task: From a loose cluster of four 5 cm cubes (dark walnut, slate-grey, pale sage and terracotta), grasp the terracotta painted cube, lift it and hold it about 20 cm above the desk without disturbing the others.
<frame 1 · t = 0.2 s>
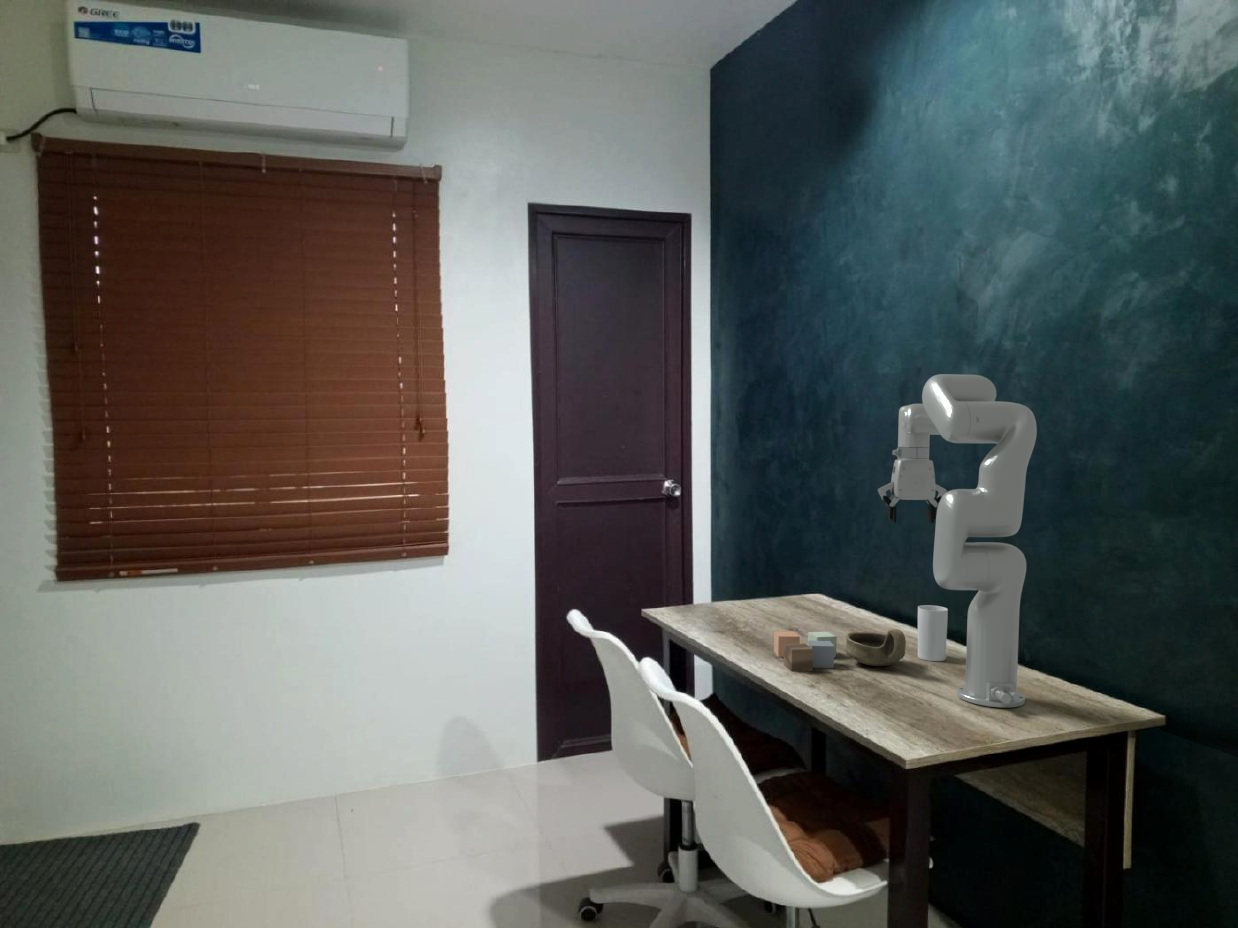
hand: (911, 522, 218), 31 cm above the table, fingers open, 9 cm apart
walnut cube: (798, 668, 196), on the table
sage cube: (821, 654, 208), on the table
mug: (928, 657, 208), on the table
bowl: (878, 667, 198), on the table
terracotta cube: (786, 654, 208), on the table
slate cube: (820, 664, 199), on the table
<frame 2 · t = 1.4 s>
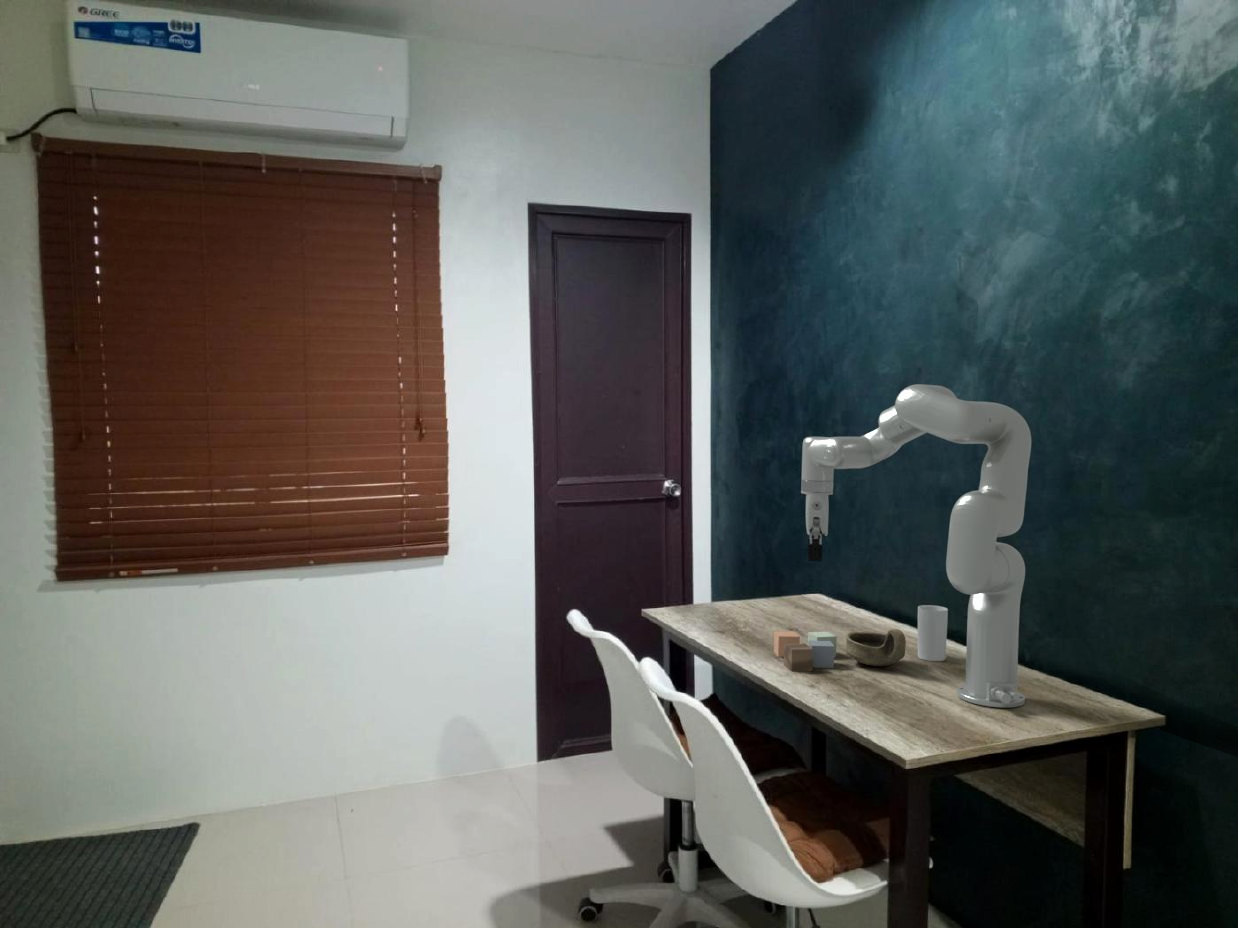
hand: (814, 558, 210), 23 cm above the table, fingers open, 9 cm apart
nothing on the table moved.
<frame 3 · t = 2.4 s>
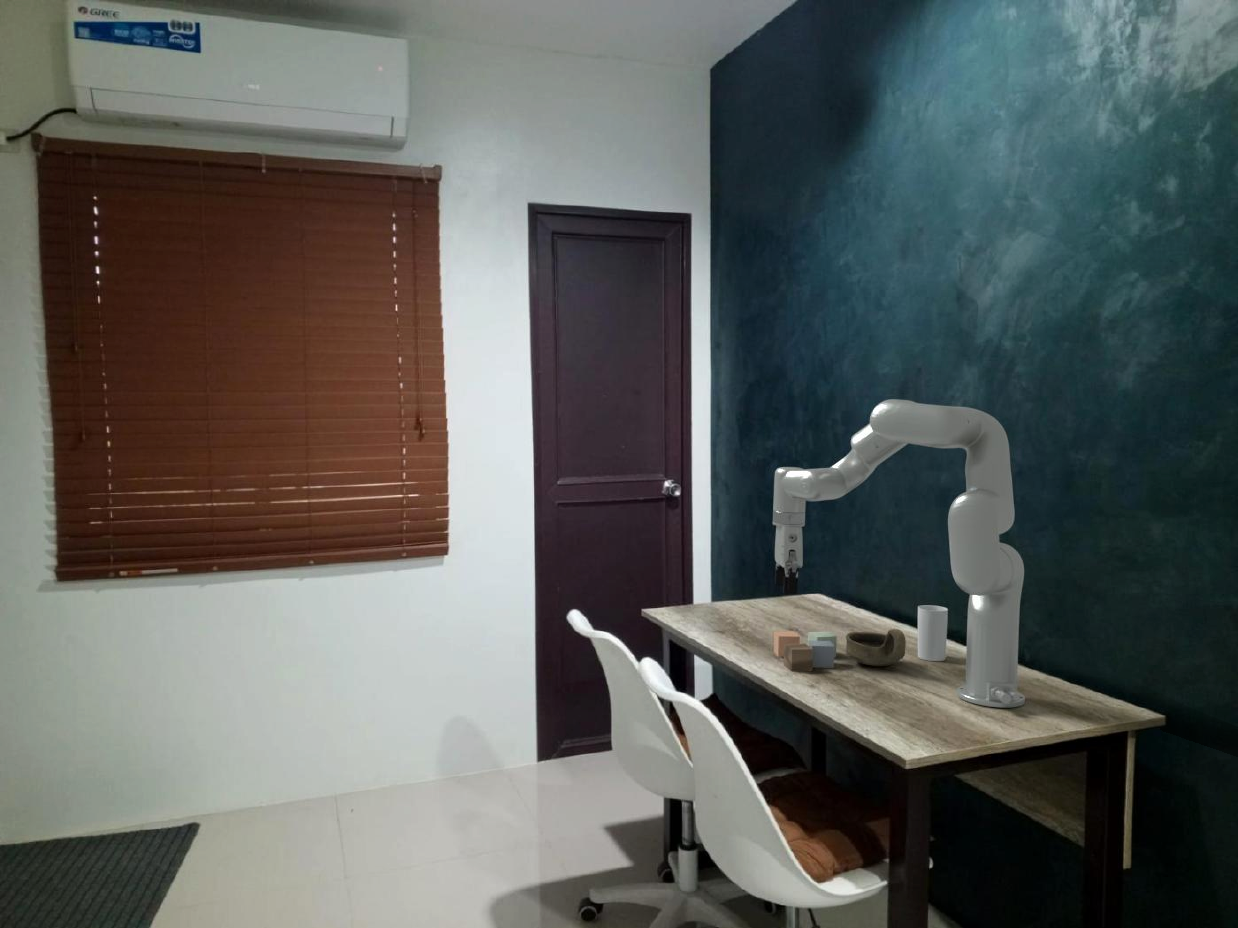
hand: (785, 589, 208), 15 cm above the table, fingers open, 9 cm apart
nothing on the table moved.
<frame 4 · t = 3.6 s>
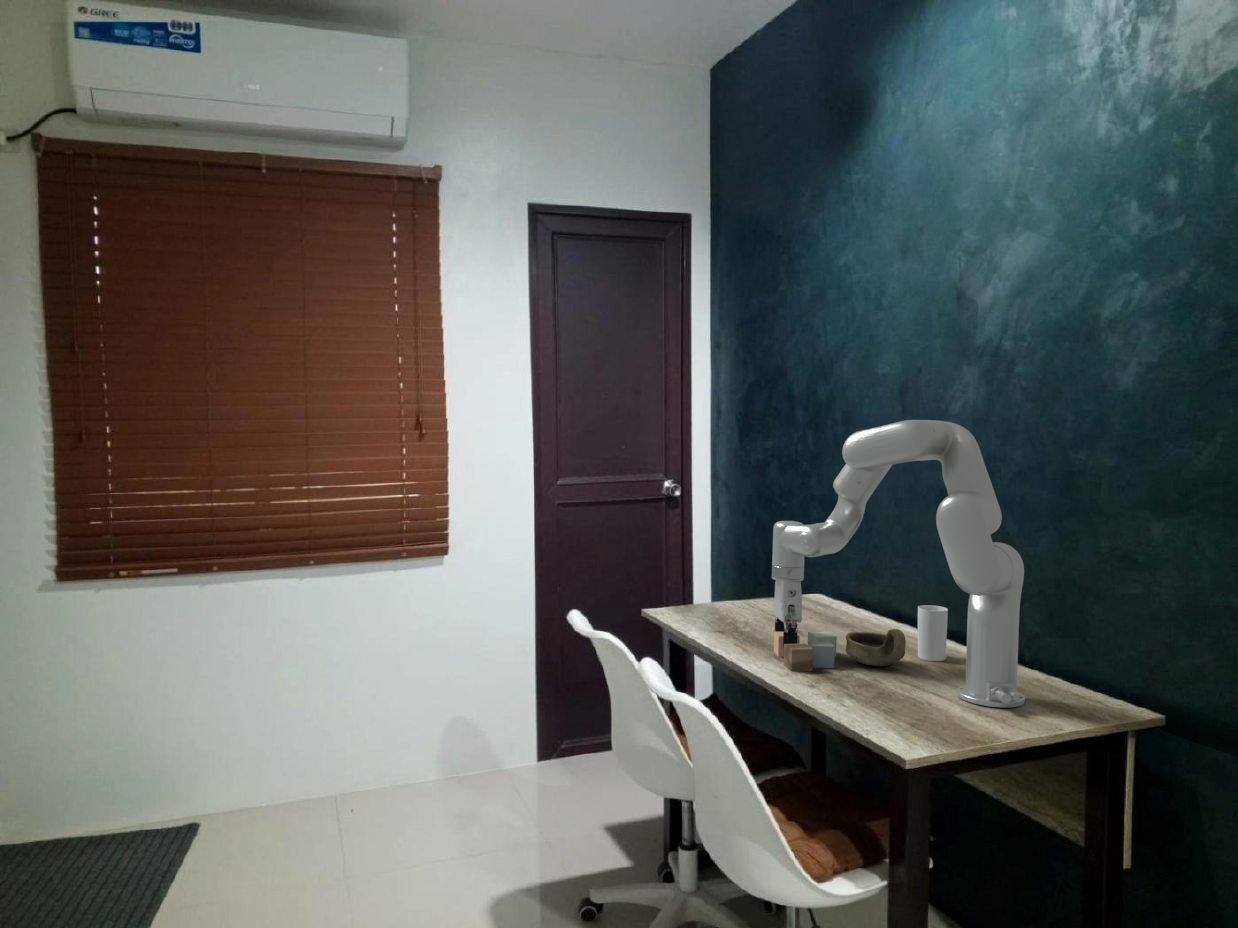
hand: (785, 643, 208), 3 cm above the table, fingers open, 9 cm apart
nothing on the table moved.
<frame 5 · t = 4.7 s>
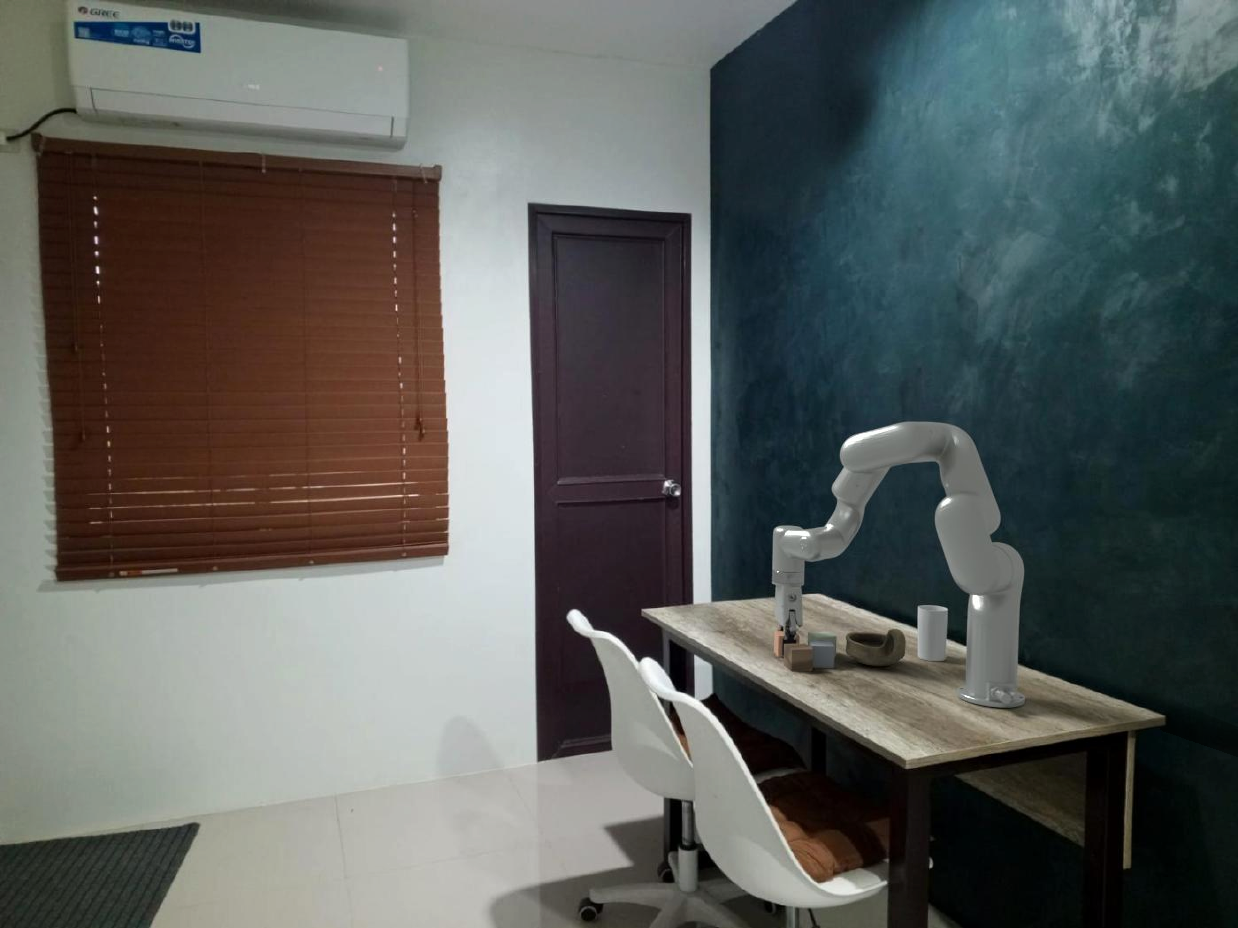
hand: (786, 651, 208), 0 cm above the table, fingers closed on terracotta cube, 5 cm apart
terracotta cube: (786, 654, 208), on the table, touching gripper
everything else where it was.
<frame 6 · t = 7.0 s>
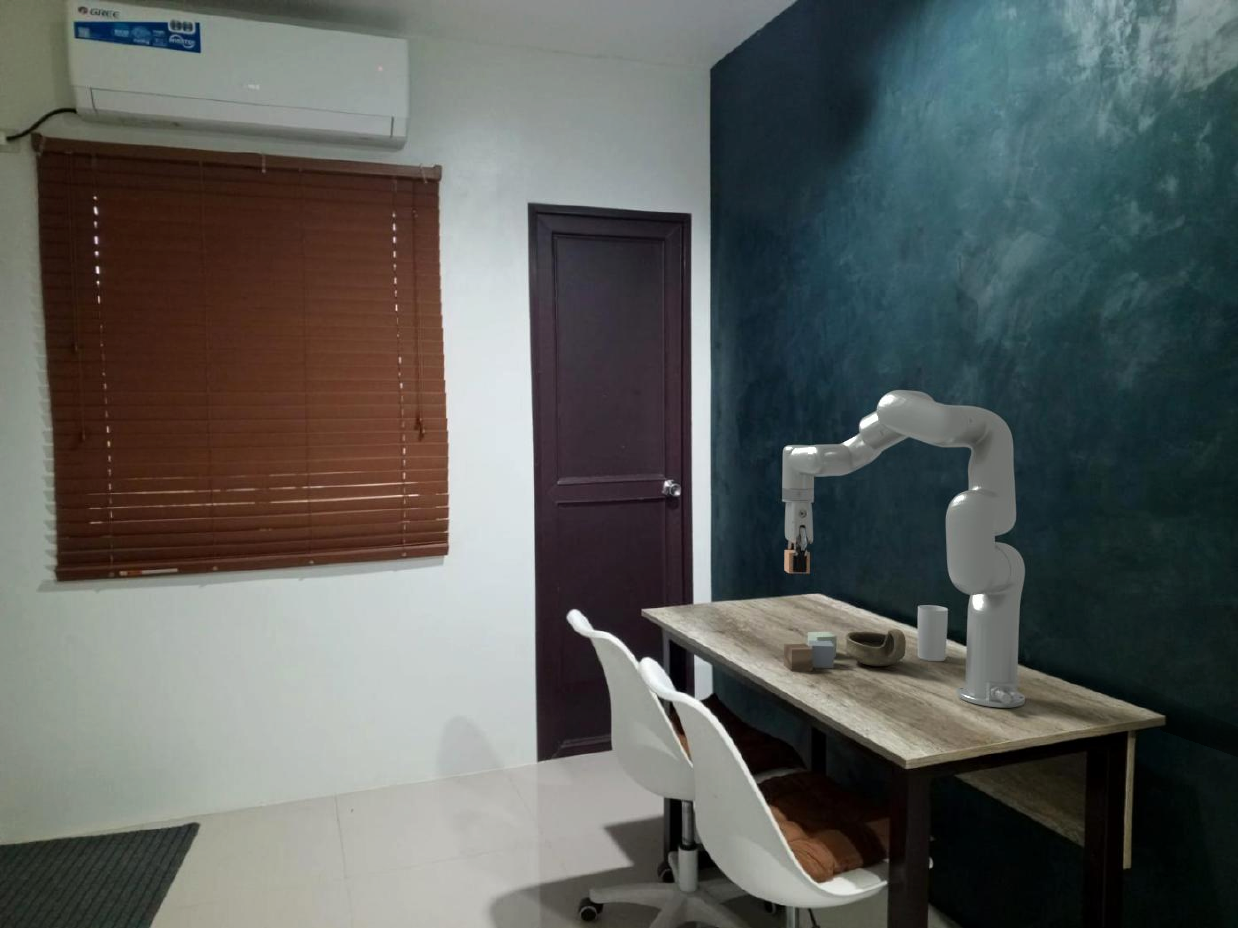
hand: (796, 569, 211), 20 cm above the table, fingers closed on terracotta cube, 5 cm apart
terracotta cube: (796, 571, 211), point 19 cm above the table, touching gripper
everything else where it was.
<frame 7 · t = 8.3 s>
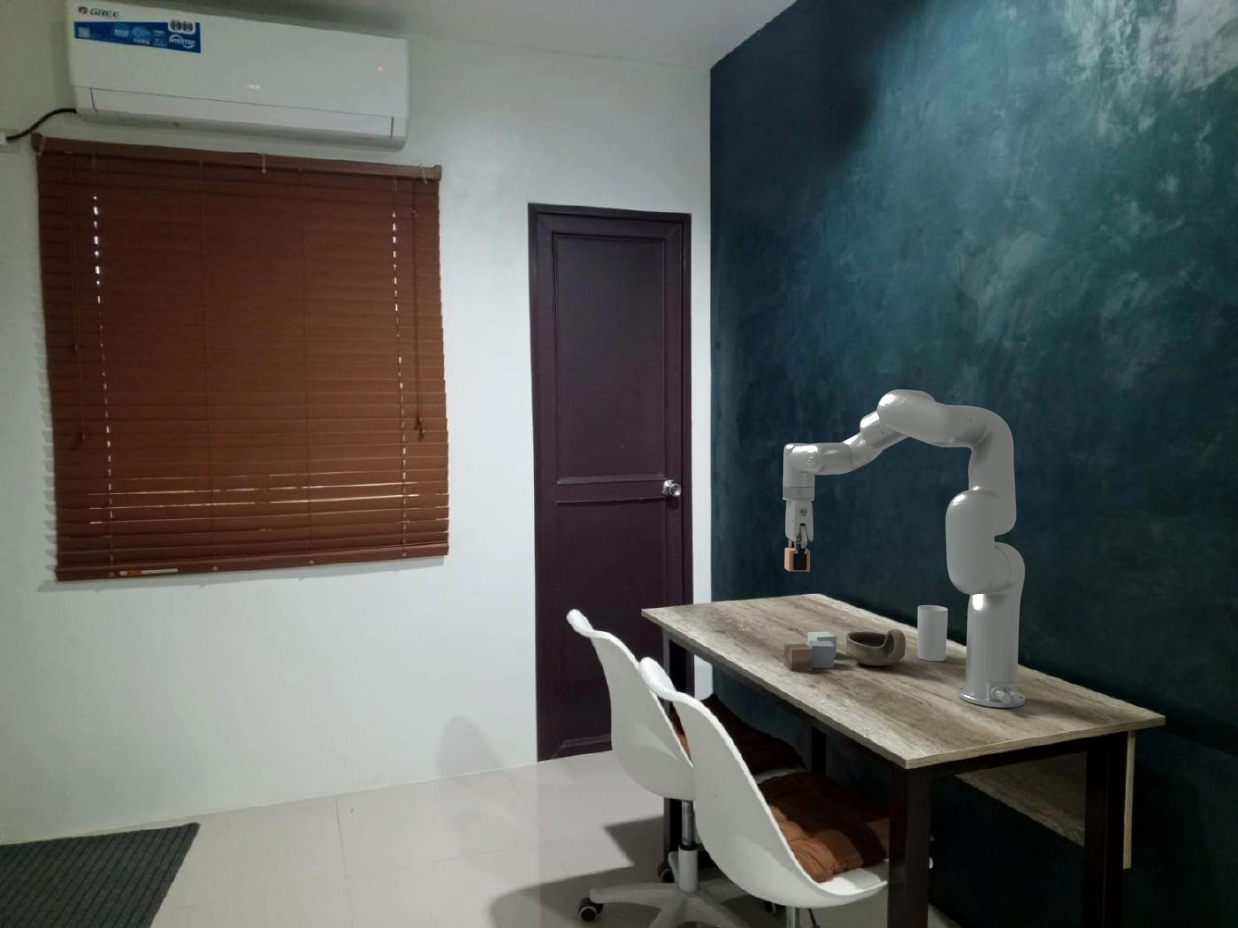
hand: (797, 567, 211), 20 cm above the table, fingers closed on terracotta cube, 5 cm apart
terracotta cube: (796, 569, 211), point 20 cm above the table, touching gripper
everything else where it was.
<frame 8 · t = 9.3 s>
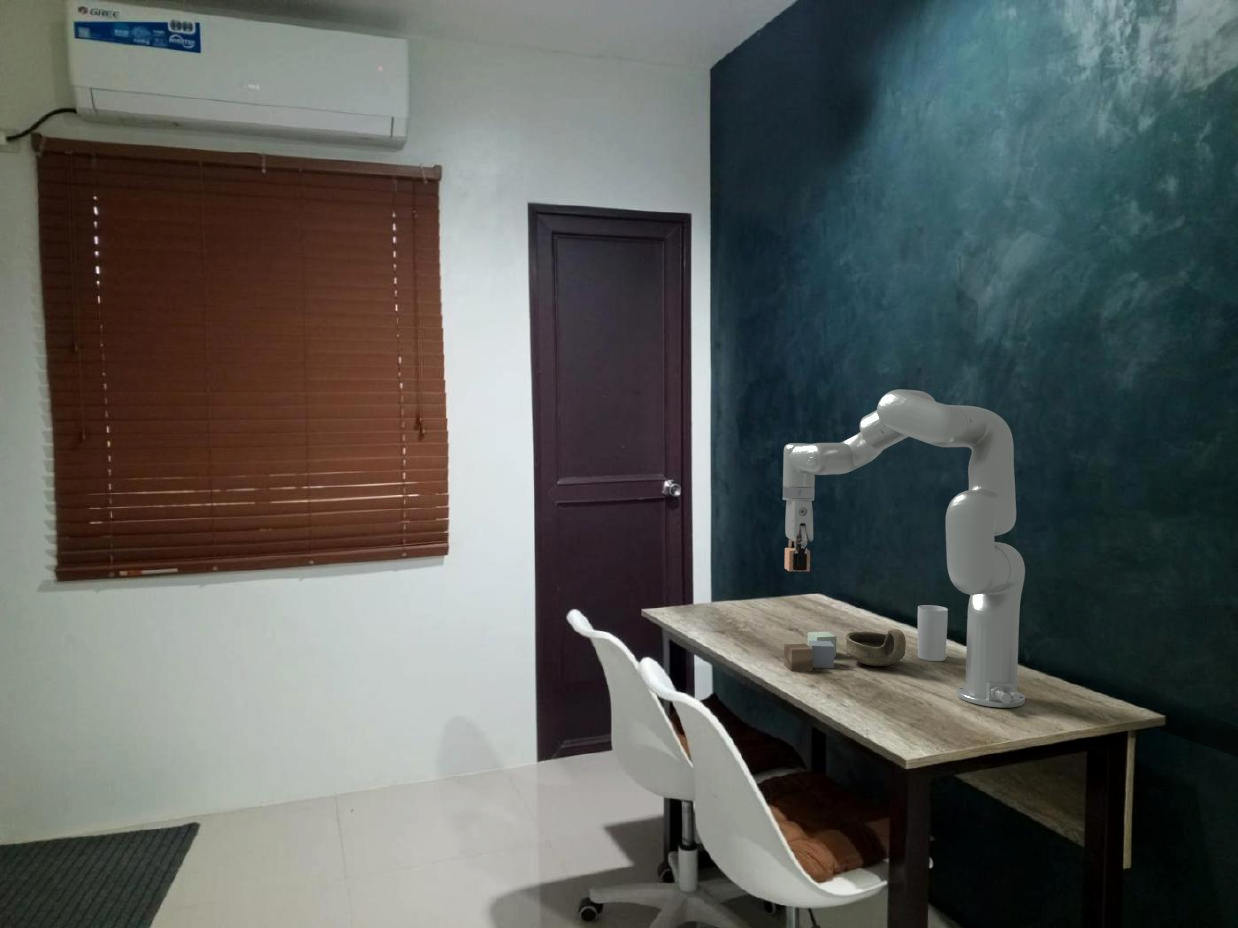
hand: (797, 567, 211), 20 cm above the table, fingers closed on terracotta cube, 5 cm apart
terracotta cube: (796, 569, 211), point 20 cm above the table, touching gripper
everything else where it was.
at the end: the gripper is holding terracotta cube; terracotta cube point 19.8 cm above the table; walnut cube moved 0.1 cm from its start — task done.
